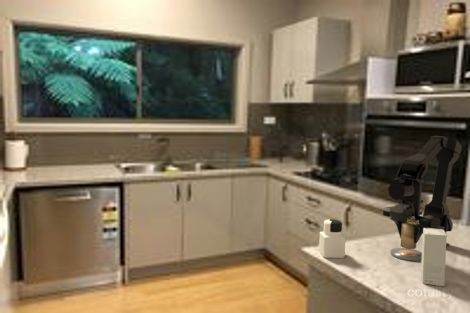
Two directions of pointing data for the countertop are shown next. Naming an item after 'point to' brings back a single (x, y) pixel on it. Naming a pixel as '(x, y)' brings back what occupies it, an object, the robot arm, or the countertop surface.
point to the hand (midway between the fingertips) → (408, 240)
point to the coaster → (406, 254)
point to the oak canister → (407, 235)
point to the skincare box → (433, 256)
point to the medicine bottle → (332, 240)
